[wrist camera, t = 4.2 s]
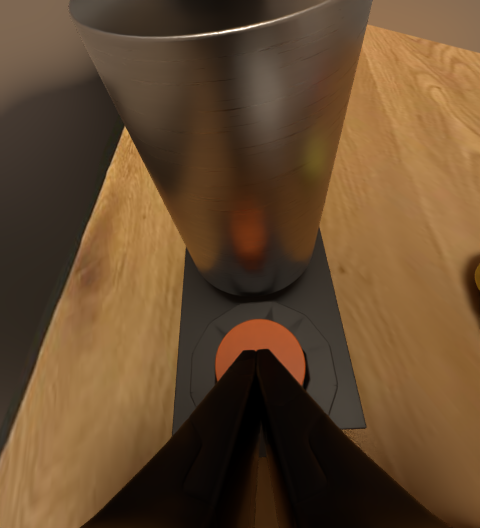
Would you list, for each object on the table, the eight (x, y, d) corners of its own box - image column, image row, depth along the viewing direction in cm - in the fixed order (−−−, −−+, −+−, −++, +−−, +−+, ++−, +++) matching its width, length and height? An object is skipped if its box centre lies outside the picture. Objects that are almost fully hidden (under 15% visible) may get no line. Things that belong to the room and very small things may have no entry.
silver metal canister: (324, 291, 14) (500, -144, 3) (189, 302, 14) (-57, -40, 4) (303, 190, 17) (350, -173, 7) (195, 202, 18) (79, -119, 7)
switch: (307, 413, 11) (313, 411, 10) (223, 416, 12) (214, 416, 10) (294, 329, 13) (298, 315, 11) (222, 334, 14) (215, 321, 12)
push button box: (346, 441, 16) (387, 453, 10) (195, 446, 16) (155, 461, 11) (309, 255, 22) (321, 200, 17) (202, 265, 23) (178, 215, 17)
